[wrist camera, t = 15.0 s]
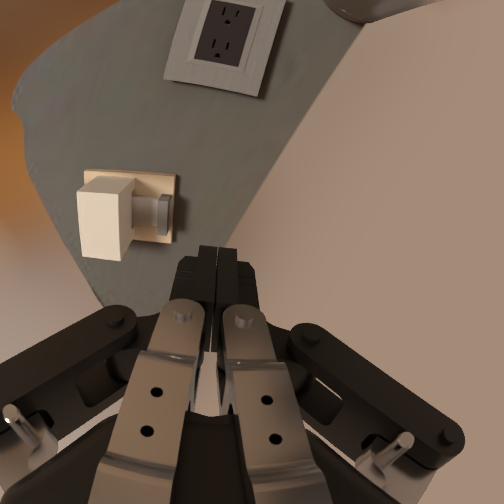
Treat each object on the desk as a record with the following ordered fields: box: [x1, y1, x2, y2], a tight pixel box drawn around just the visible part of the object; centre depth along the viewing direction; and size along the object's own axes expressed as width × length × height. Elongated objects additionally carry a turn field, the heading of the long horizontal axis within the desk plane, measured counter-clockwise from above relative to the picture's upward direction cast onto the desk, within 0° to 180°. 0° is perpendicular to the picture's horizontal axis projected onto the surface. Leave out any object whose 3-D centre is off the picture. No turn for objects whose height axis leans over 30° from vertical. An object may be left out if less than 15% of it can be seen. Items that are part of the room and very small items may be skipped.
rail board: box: [84, 169, 176, 243], centre depth 35 cm, size 9×12×3 cm
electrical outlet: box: [163, 0, 286, 97], centre depth 26 cm, size 13×10×2 cm
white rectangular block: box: [77, 175, 135, 261], centre depth 33 cm, size 8×5×6 cm, turn 171°
